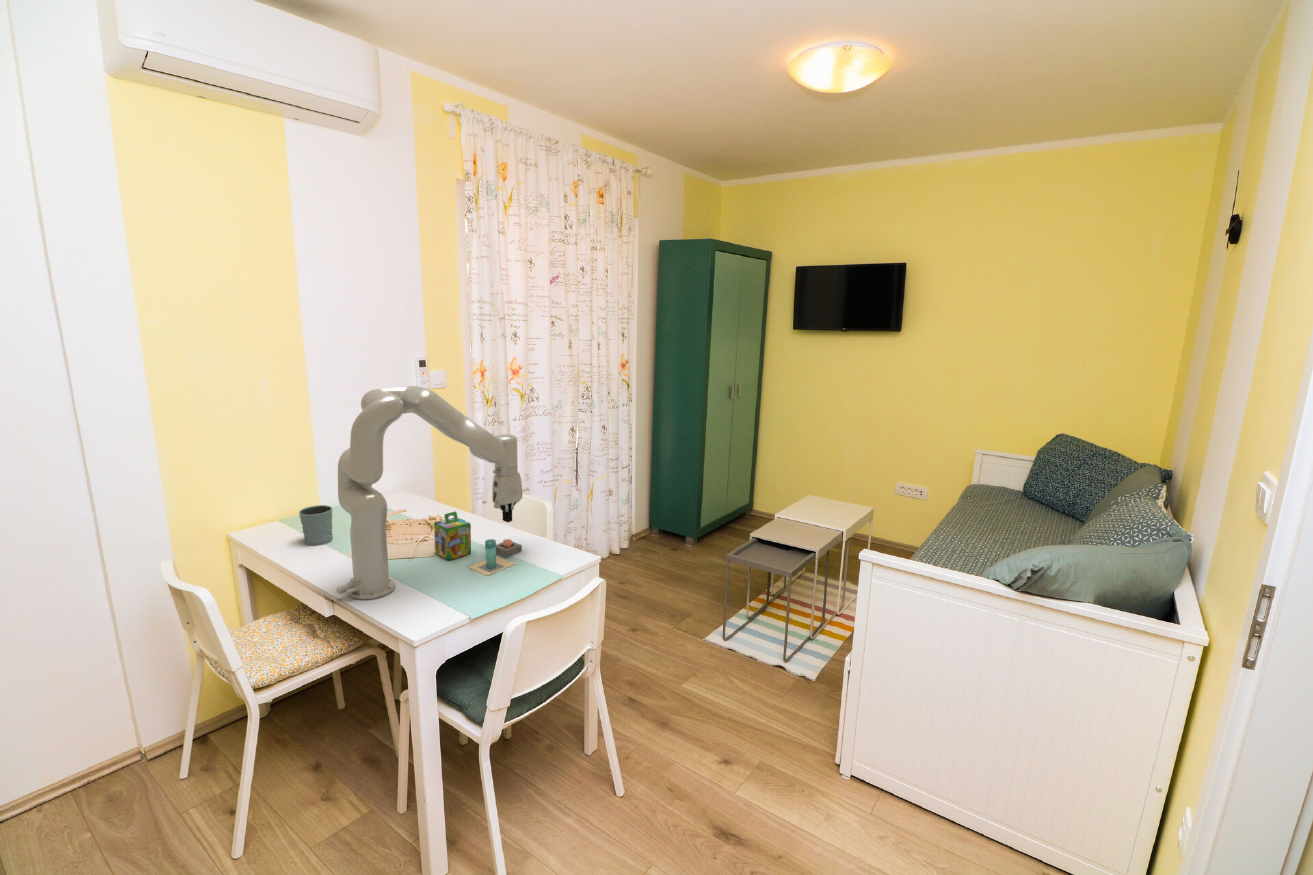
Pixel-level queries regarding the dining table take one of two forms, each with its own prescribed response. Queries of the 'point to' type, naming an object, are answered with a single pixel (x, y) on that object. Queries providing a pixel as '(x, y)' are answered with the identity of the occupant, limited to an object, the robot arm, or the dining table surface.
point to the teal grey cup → (317, 524)
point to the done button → (507, 543)
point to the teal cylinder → (490, 553)
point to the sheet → (500, 565)
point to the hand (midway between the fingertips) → (507, 520)
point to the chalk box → (452, 537)
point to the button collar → (508, 549)
